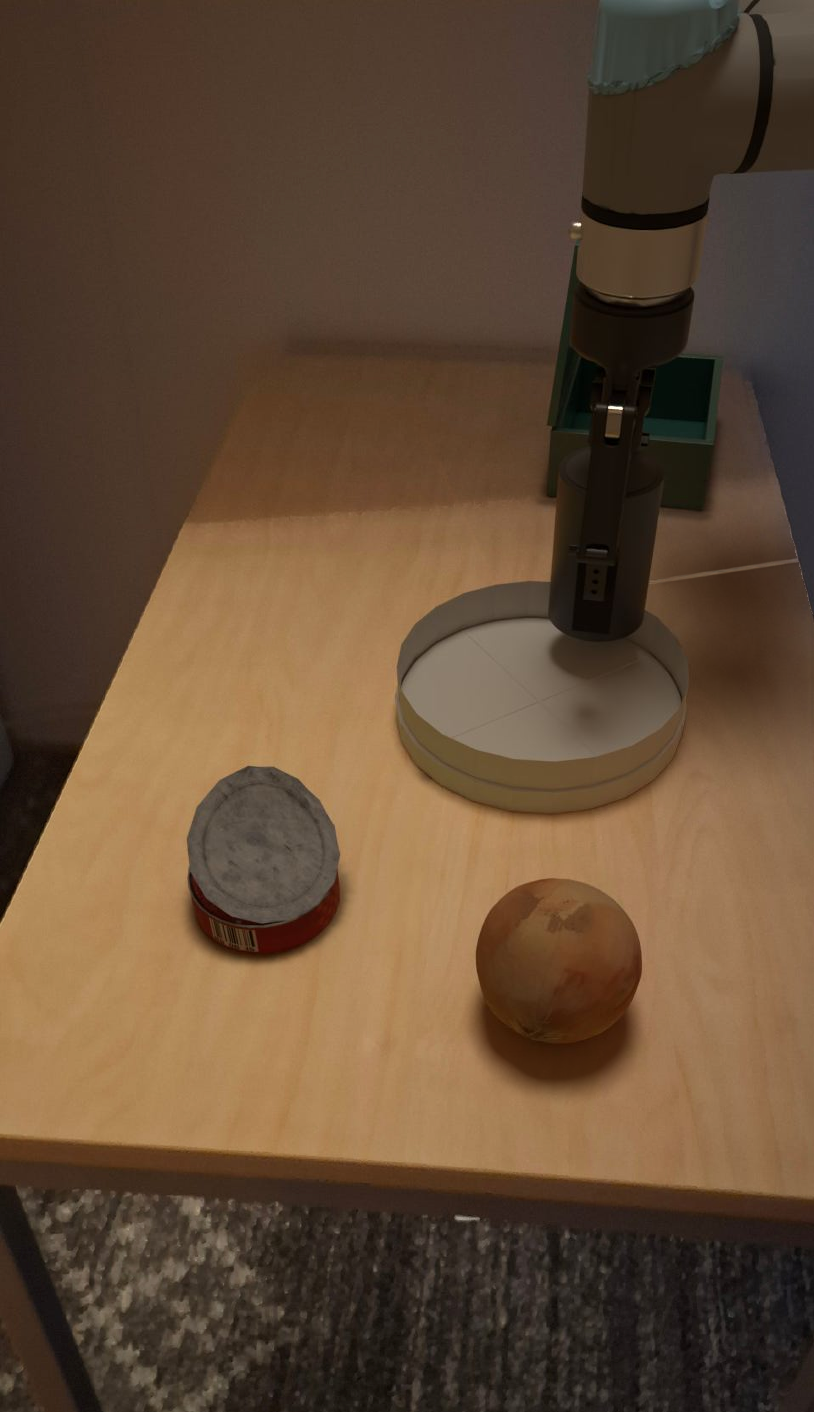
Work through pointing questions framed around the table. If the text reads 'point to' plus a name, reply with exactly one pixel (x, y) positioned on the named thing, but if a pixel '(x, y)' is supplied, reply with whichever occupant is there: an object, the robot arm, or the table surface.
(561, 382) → the lid
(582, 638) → the gray cylinder
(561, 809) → the dish
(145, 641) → the table surface
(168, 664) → the table surface
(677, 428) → the green box
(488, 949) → the onion
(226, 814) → the canned food
